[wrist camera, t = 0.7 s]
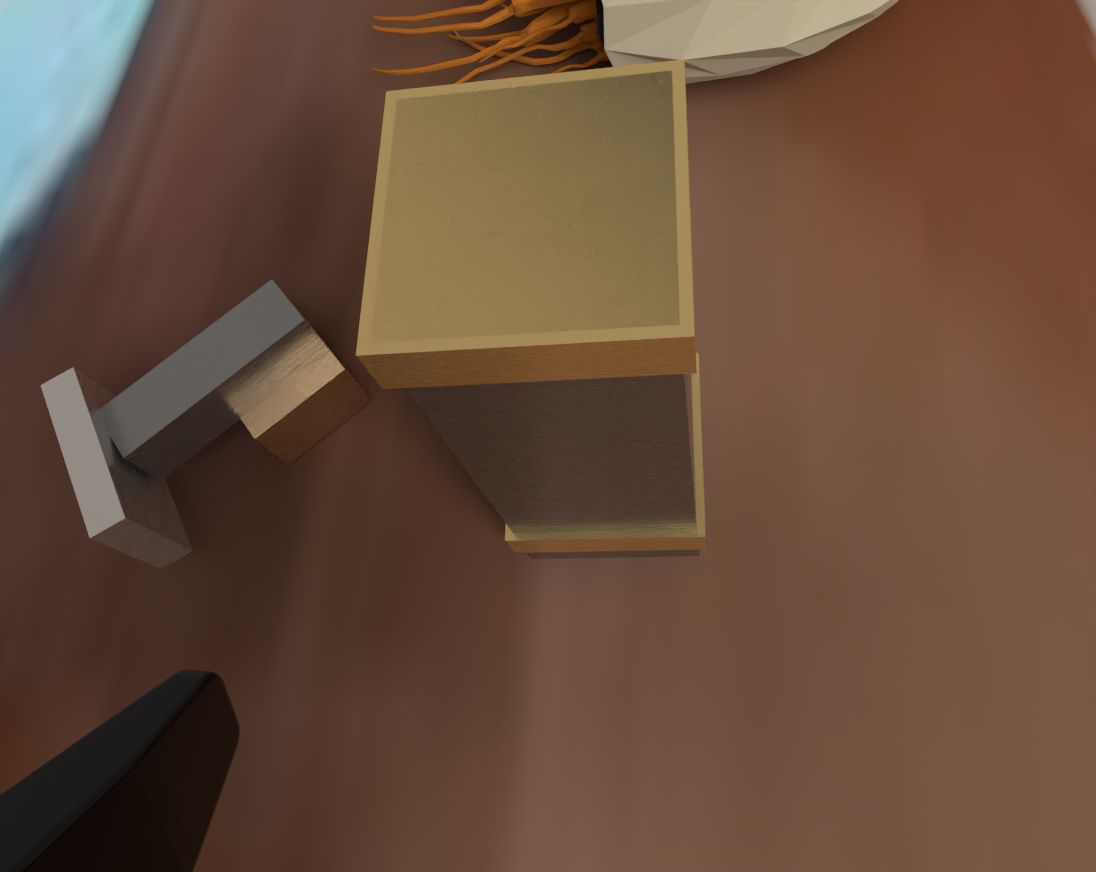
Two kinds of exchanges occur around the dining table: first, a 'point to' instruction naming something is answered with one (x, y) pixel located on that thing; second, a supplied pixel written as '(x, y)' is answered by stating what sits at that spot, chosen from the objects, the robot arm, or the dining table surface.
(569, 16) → the nautilus
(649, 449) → the block
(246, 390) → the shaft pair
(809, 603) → the dining table surface
